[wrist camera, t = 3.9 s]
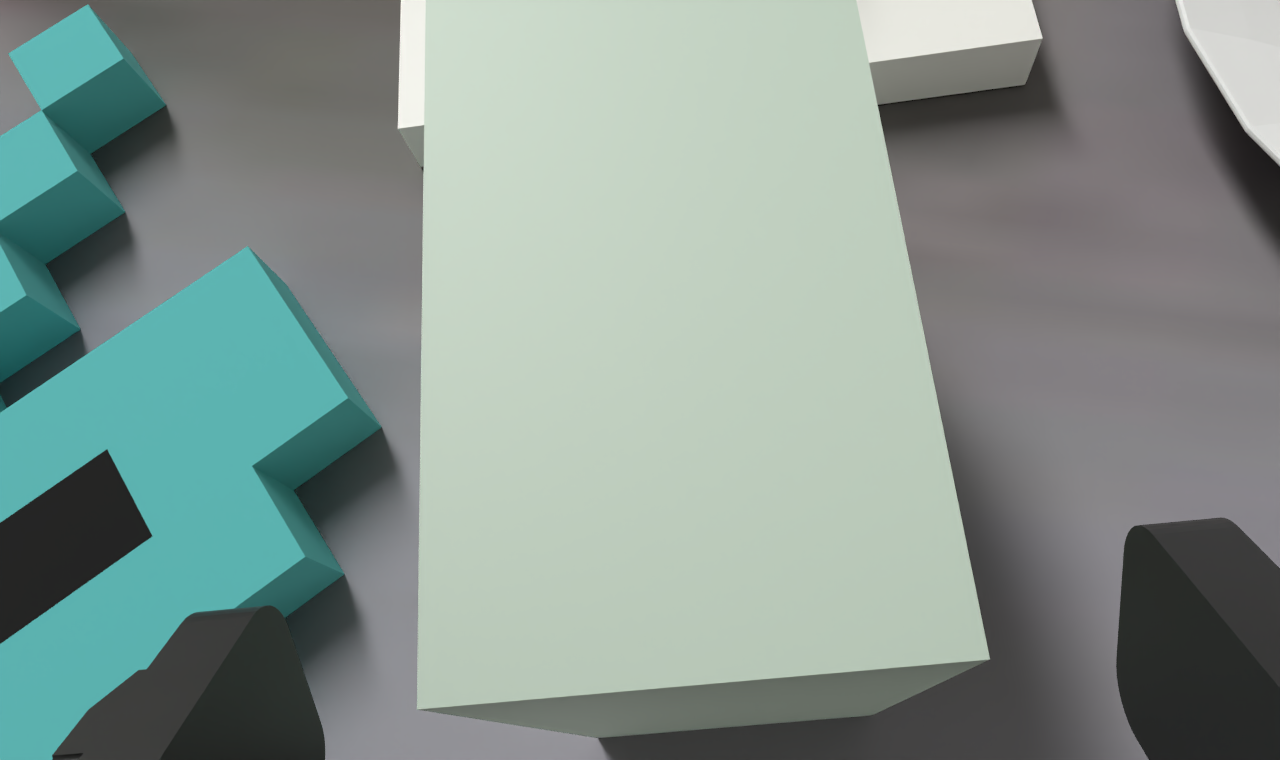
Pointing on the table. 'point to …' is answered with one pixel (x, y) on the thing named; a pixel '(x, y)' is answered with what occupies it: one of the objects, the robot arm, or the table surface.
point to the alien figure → (140, 422)
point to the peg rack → (894, 38)
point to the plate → (1241, 60)
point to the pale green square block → (673, 377)
